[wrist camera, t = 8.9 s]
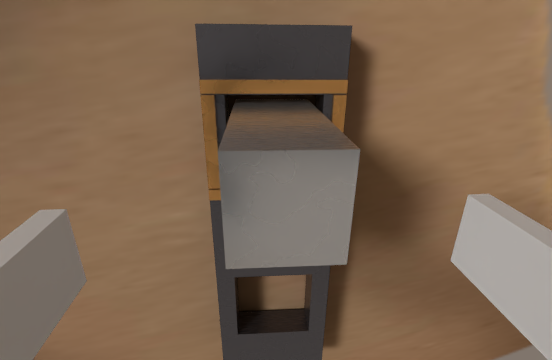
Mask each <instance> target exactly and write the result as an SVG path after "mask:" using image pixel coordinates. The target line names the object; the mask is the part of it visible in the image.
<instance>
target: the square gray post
mask: <svg viewBox="0 0 552 360" xmlns="http://www.w3.org/2000/svg"><path fill="white" fill-rule="evenodd" d="M359 156H360V149H359V148H358V147H357V146H356V145H355V144H354V143H353V142H352V141H351V140H350V139H349V138H348V137H347V136H346V135H345V134H344V133H343V132H341V131H340V130H339V129H338V128H337V127H336V126H335V125H334V124H333V123H332V122H331V121H330V120H329V119H328V118H327V117H326V116H325V115H324V114H322V113H321V112H320V111H319V110H318V109H317V108H316V107H315V106H314V105H313V104H312V103H311V102H310V101H309V100H308V99H236V100H235V103H234V106H233V109H232V111H231V114H230V117H229V120H228V123H227V126H226V129H225V132H224V134H223V137H222V140H221V143H220V146H219V149H218V164H219V178H220V193H221V207H222V222H223V236H224V251H225V265H226V269H242V268H268V267H295V266H322V265H347V259H348V250H349V242H350V233H351V225H352V216H353V208H354V199H355V190H356V182H357V173H358V165H359Z"/></svg>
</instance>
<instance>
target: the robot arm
mask: <svg viewBox="0 0 552 360" xmlns="http://www.w3.org/2000/svg"><path fill="white" fill-rule="evenodd" d="M451 262H452V263H453V264H454V265H455V266H456V267H457V268H458V269H459V270H460V271H461V272H462V273H463V274H464V275H465V276H466V277H467V278H468V279H469V280H470V281H471V282H472V283H473V284H474V285H475V286H476V287H477V288H478V289H479V290H480V291H481V292H482V293H483V294H484V295H485V296H486V297H487V298H488V299H489V300H490V301H491V302H492V303H493V305H494V306H495V307H496V308H497V309H498V310H499V311H500V312H501V313H502V314H503V315H504V316H505V317H506V318H507V319H508V320H509V321H510V322H511V323H512V324H513V325H514V326H515V327H516V328H517V329H518V330H519V331H520V332H521V333H522V334H523V335H524V336H525V337H526V338H527V339H528V340H529V341H530V342H531V343H532V344H533V345H534V346H535V347H536V348H537V349H538V350H539V351H540V352H541V353H542V355H543V356H544V357H545V358H547V360H552V231H551V230H550V229H548V228H546V227H544V226H543V225H541V224H539V223H538V222H536V221H534V220H533V219H531V218H529V217H527V216H526V215H524V214H522V213H521V212H519V211H517V210H515V209H514V208H512V207H510V206H509V205H507V204H505V203H504V202H502V201H500V200H498V199H497V198H495V197H493V196H492V195H490V194H474V195H468V197H467V201H466V205H465V209H464V212H463V216H462V220H461V224H460V227H459V231H458V235H457V238H456V242H455V246H454V250H453V253H452V257H451ZM86 281H87V280H86V277H85V273H84V270H83V266H82V263H81V259H80V256H79V252H78V249H77V245H76V242H75V238H74V235H73V231H72V227H71V224H70V220H69V217H68V213H67V210H66V209H58V210H39V211H38V212H37V213H36V214H34V215H33V216H32V217H30V218H29V219H28V220H27V221H25V222H24V223H23V224H21V225H20V226H19V227H18V228H16V229H15V230H14V231H12V232H11V233H10V234H9V235H7V236H6V237H5V238H4V239H2V240H1V241H0V360H33V359H34V357H35V356H36V354H37V353H38V351H39V350H40V348H41V347H42V345H43V344H44V343H45V341H46V340H47V338H48V337H49V335H50V334H51V332H52V331H53V329H54V328H55V326H56V325H57V324H58V322H59V321H60V319H61V318H62V316H63V315H64V313H65V312H66V310H67V309H68V307H69V306H70V305H71V303H72V302H73V300H74V299H75V297H76V296H77V294H78V293H79V291H80V290H81V288H82V287H83V286H84V284H85V283H86Z"/></svg>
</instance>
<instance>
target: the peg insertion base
mask: <svg viewBox="0 0 552 360" xmlns="http://www.w3.org/2000/svg"><path fill="white" fill-rule="evenodd" d="M195 28H196V40H197V52H198V64H199V76H200V80H199V82H200V94H201V106H202V118H203V130H204V141H205V153H206V165H207V177H208V188H209V200H210V206H211V218H212V230H213V242H214V254H215V266H216V278H217V290H218V302H219V314H220V325H221V337H222V349H223V360H322V350H323V339H324V328H325V318H326V307H327V296H328V285H329V274H330V265H322V266H295V267H268V268H242V269H226V265H225V251H224V236H223V222H222V207H221V193H220V178H219V164H218V149H219V146H220V143H221V140H222V137H223V134H224V132H225V129H226V126H227V123H228V120H229V112H228V95H316V108H317V109H318V110H319V111H320V112H321V113H322V114H324V115H325V116H326V117H327V118H328V119H329V120H330V121H331V122H332V123H333V124H334V125H335V126H336V127H337V128H338V129H339V130H340V131H341V132H343V131H344V120H345V109H346V98H347V95H346V93H347V88H348V80H347V77H348V67H349V56H350V45H351V34H352V26H338V25H258V24H195ZM280 275H306V288H305V306H304V309H295V310H274V311H252V312H239V305H238V285H237V277H255V276H280Z"/></svg>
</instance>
